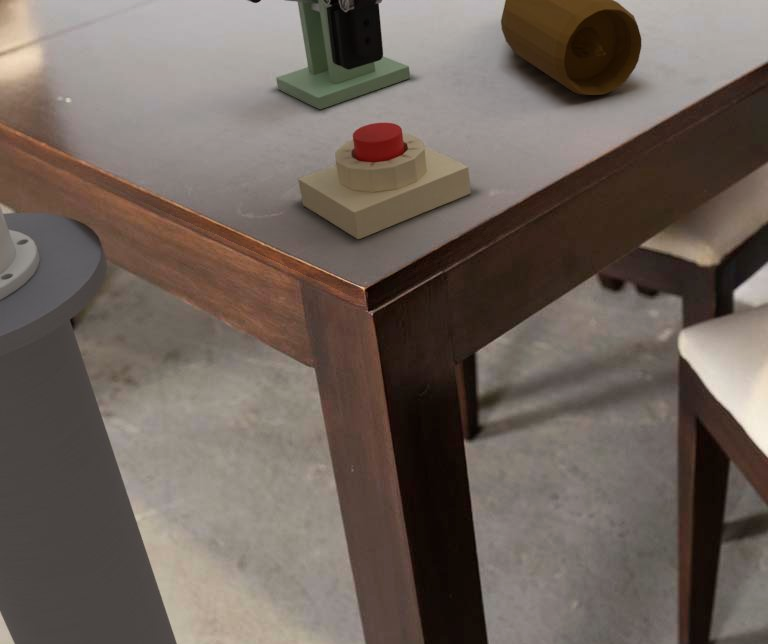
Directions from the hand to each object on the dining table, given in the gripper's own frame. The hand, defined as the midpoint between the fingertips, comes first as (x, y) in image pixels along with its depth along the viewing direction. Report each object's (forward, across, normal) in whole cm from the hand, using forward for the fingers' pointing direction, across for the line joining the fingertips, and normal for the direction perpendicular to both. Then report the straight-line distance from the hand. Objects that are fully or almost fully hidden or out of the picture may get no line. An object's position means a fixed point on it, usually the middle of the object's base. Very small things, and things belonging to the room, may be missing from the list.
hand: (358, 61), depth 77 cm
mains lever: (+3, -24, +7) cm, 25 cm away
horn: (+10, -14, +29) cm, 34 cm away
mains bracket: (+11, -24, +12) cm, 28 cm away
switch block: (+11, 0, +1) cm, 11 cm away
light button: (+7, 0, +1) cm, 7 cm away
